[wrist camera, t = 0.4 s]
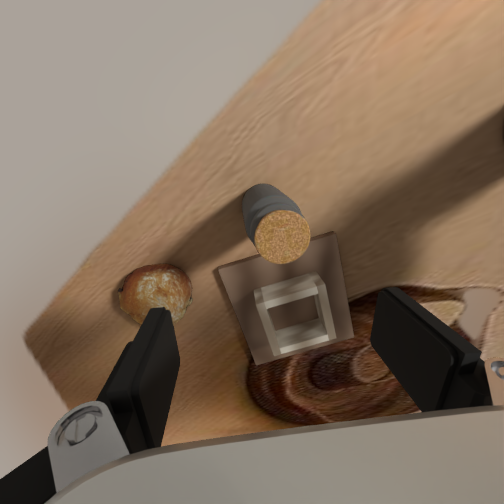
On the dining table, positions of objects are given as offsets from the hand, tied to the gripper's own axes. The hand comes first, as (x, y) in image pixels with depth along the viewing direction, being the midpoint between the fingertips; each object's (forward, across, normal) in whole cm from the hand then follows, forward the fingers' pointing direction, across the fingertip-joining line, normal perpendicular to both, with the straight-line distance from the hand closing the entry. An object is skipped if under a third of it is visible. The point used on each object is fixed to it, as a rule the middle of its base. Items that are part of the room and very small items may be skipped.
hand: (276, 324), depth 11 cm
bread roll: (+26, +14, +12) cm, 31 cm away
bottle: (+25, -3, -1) cm, 25 cm away
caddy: (+25, -7, +16) cm, 30 cm away
